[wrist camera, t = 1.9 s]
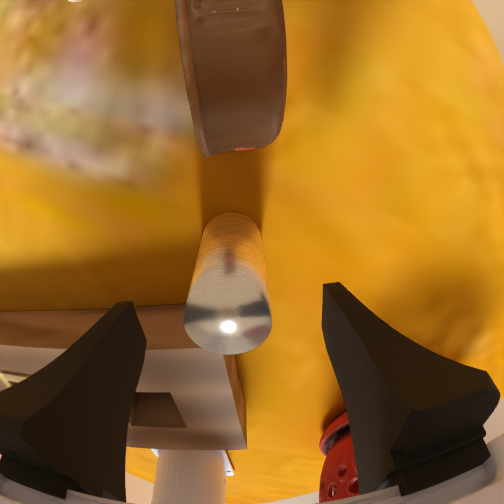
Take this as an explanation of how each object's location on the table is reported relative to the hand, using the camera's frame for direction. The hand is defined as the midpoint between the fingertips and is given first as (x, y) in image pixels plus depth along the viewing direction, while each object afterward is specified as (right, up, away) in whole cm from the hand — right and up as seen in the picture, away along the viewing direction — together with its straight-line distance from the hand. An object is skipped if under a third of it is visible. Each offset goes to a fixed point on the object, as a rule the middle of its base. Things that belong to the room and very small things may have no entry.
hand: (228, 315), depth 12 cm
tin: (0, +15, 0) cm, 15 cm away
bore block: (-11, -7, +11) cm, 17 cm away
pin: (0, +3, +6) cm, 7 cm away
